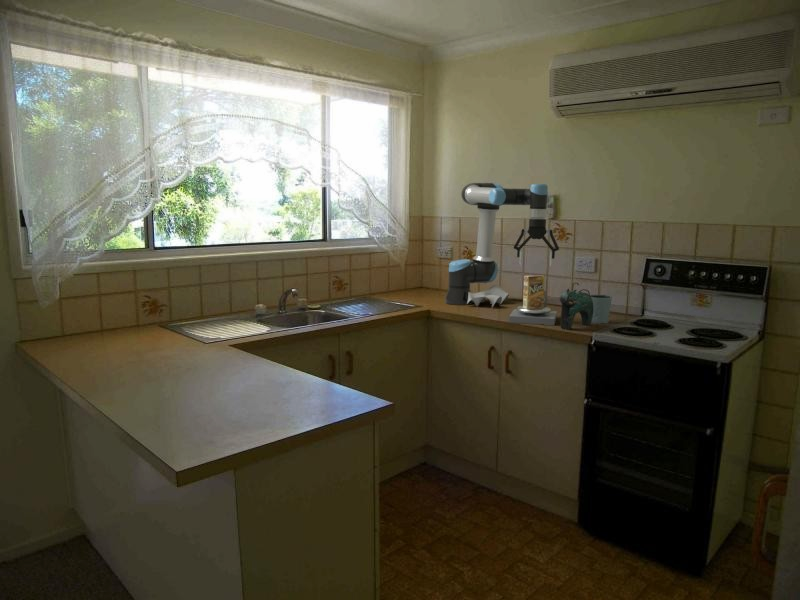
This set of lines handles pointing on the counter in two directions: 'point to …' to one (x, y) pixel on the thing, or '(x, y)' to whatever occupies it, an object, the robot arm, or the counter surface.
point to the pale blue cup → (601, 308)
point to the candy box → (533, 292)
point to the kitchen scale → (534, 316)
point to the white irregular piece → (489, 296)
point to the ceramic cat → (575, 307)
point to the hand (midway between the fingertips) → (535, 265)
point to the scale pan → (533, 310)
